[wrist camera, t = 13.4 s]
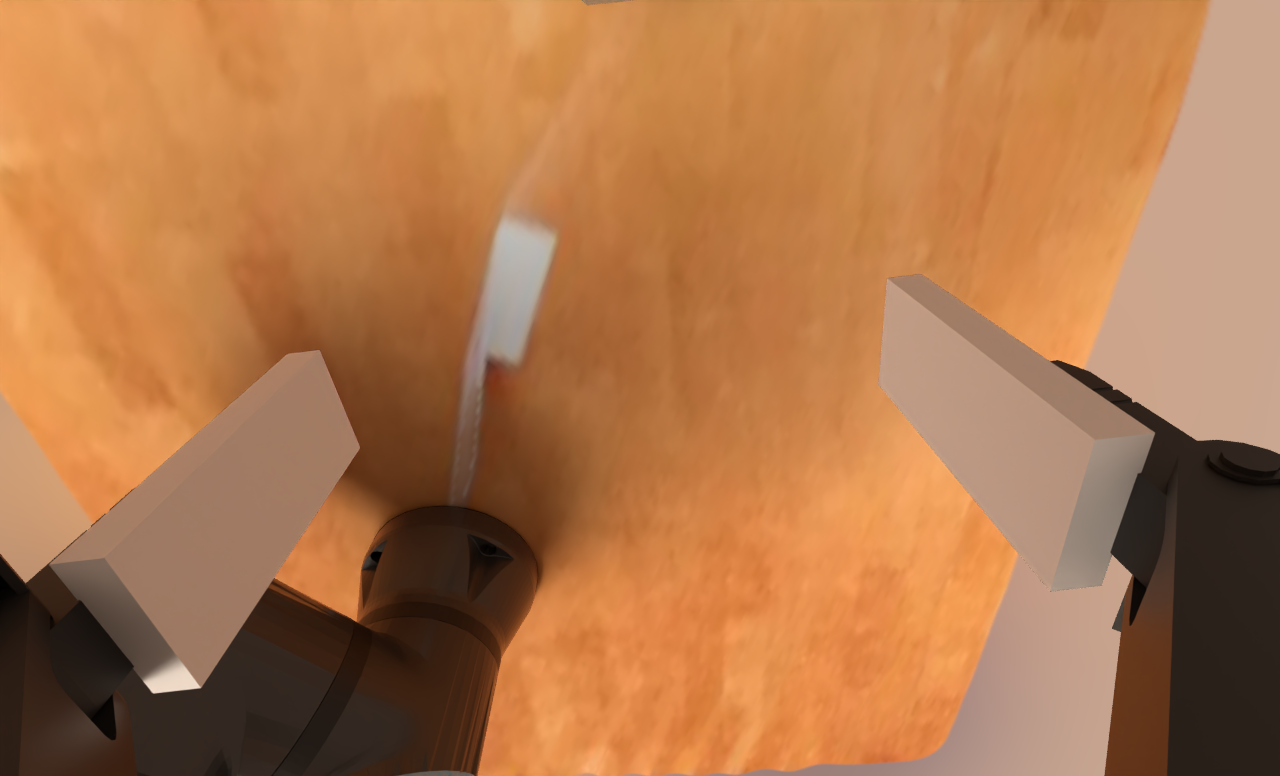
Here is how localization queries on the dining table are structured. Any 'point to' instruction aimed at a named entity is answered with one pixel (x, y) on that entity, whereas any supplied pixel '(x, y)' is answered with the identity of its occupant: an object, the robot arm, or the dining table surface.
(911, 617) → the dining table surface
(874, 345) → the dining table surface
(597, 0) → the teal block
